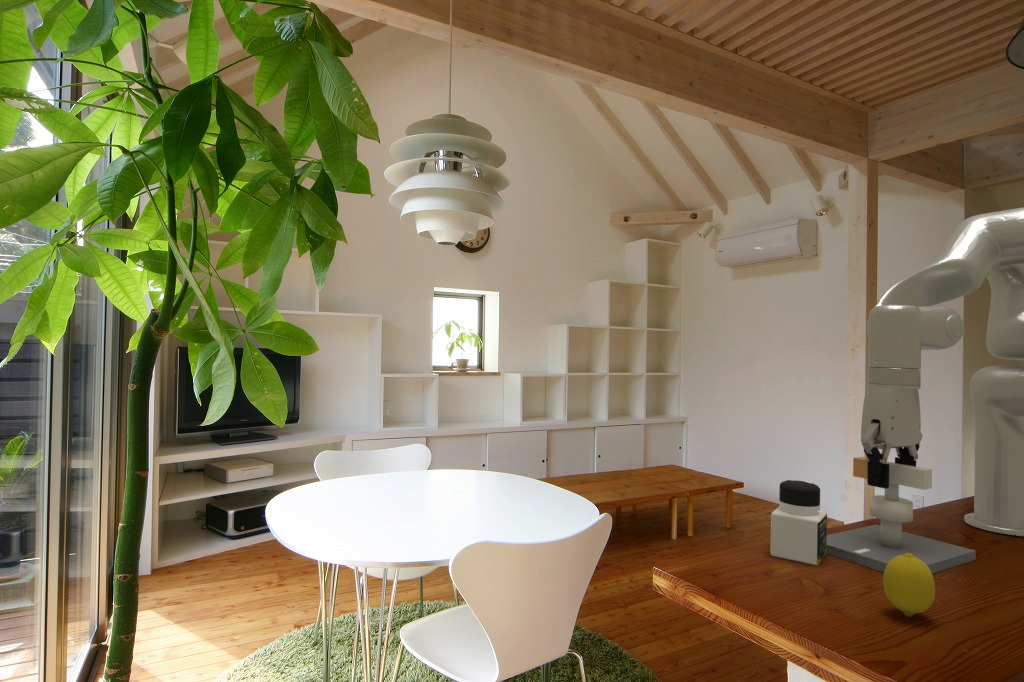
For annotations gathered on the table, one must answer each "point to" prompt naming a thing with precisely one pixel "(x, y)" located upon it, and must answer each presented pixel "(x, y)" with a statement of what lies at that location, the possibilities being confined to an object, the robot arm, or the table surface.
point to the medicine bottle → (799, 523)
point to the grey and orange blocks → (895, 489)
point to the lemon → (909, 584)
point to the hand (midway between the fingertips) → (891, 483)
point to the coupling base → (894, 547)
